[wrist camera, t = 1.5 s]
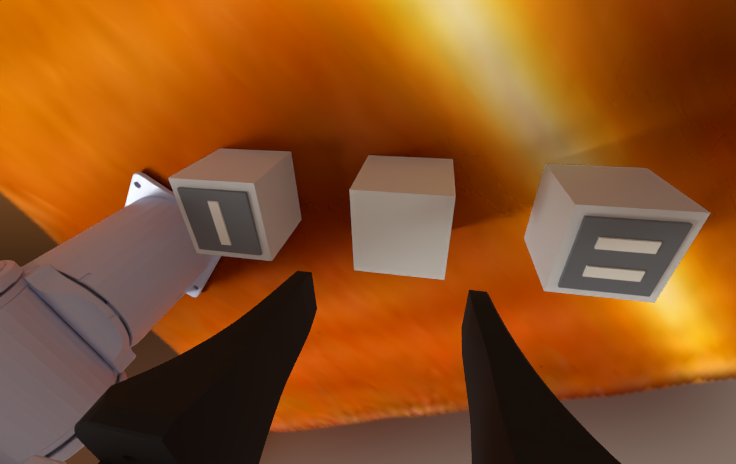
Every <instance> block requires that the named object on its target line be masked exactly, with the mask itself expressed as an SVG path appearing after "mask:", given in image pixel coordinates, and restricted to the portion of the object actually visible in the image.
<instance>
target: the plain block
mask: <svg viewBox="0 0 736 464" xmlns="http://www.w3.org/2000/svg"><path fill="white" fill-rule="evenodd" d="M349 193H350V210H351V226H352V243H353V260H354V270H357V271H366V272H376V273H385V274H394V275H404V276H413V277H422V278H432V279H441V280H444V278H445V271H446V264H447V257H448V249H449V242H450V235H451V228H452V220H453V213H454V206H455V198H456V193H455V180H454V167H453V159H443V158H420V157H398V156H375V155H368V157H367V159H366V161H365V162H364V164H363V166H362V168H361V170H360V171H359V173H358V175H357V177H356V179H355V180H354V182H353V184H352V186H351V188H350V189H349Z"/></svg>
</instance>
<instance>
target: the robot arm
mask: <svg viewBox="0 0 736 464" xmlns="http://www.w3.org/2000/svg"><path fill="white" fill-rule="evenodd" d="M220 258H221V256H219V255H209V254H200V253H197V252H196V250H195V247H194V245H193V242H192V239H191V237H190V234H189V232H188V229H187V226H186V224H185V221H184V219H183V216H182V213H181V211H180V208H179V206H178V203H177V200H176V198H175V195H174V193H173V192H172V191H170V190H169V189H167V188H166V187H164V186H163V185H161V184H160V183H158V182H157V181H155V180H154V179H152V178H150V177H149V176H147V175H146V174H144V173H142V172H137V173H135V174H133V176H132V180H131V184H130V188H129V192H128V196H127V200H126V204H125V207H124V208H123V209H121V210H119V211H118V212H116V213H114V214H112V215H111V216H109V217H107V218H105V219H104V220H102V221H100V222H99V223H97V224H95V225H93V226H92V227H90V228H88V229H87V230H85V231H83V232H81V233H80V234H78V235H76V236H74V237H73V238H71V239H69V240H68V241H66V242H64V243H62V244H61V245H59V246H57V247H56V248H54V249H52V250H51V251H49V252H47V253H45V254H44V255H42V256H40V257H38V258H37V259H35V260H33V261H32V262H30V263H28V264H26V265H25V266H23V267H19V266H18V265H17V264H16V262H14V261H10V260H4V261H0V464H67V463H65V462H63V461H65V460H66V459H68V458H69V457H71V456H72V455H74V454H75V453H76V452H77V451H79V450H80V449H81V448H82V447H84V446H86V447H87V448H88V449H89V450H90V451H91V452H92V453H93V454H94V455H95V456H96V457H97V458H98V459H99V460H100V462H99V463H98V464H259V461H260V458H261V455H262V451H263V448H264V445H265V441H266V438H267V435H268V432H269V429H270V426H271V423H272V420H273V417H274V414H275V411H276V409H277V406H278V403H279V400H280V397H281V394H282V392H283V389H284V387H285V384H286V382H287V380H288V378H289V375H290V373H291V371H292V369H293V367H294V365H295V362H296V360H297V358H298V356H299V354H300V352H301V350H302V347H303V345H304V343H305V341H306V339H307V336H308V334H309V332H310V329H311V326H312V323H313V320H314V317H315V313H316V310H317V306H316V299H315V293H314V286H313V279H312V273H311V272H303V271H297V272H296V273H294V274H293V275H292V276H291V277H290V278H288V279H287V280H286V281H285V282H284V283H283V284H281V285H280V286H279V287H278V288H277V289H276V290H275V291H273V292H272V293H271V294H270V295H269V296H267V297H266V298H265V299H264V300H263V301H261V302H260V303H259V304H258V305H257V306H255V307H254V308H253V309H251V310H250V311H249V312H247V313H246V314H245V315H244V316H242V317H241V318H240V319H238V320H237V321H235V322H234V323H233V324H231V325H230V326H228V327H227V328H225V329H224V330H222V331H221V332H219V333H217V334H216V335H214V336H213V337H211V338H209V339H208V340H206V341H204V342H202V343H201V344H199V345H197V346H195V347H194V348H192V349H190V350H188V351H187V352H185V353H183V354H181V355H179V356H177V357H175V358H173V359H171V360H169V361H167V362H165V363H163V364H161V365H159V366H157V367H154V368H152V369H150V370H148V371H145V372H143V373H141V374H138V375H136V376H133V377H131V378H129V379H127V376H126V373H125V372H124V371H123V370H124V369H125V368H126V367H127V366H128V365H129V364H130V363H131V362H132V361H133V360H134V358H135V357H136V355H135V354H134V353H133V351H132V350H131V347H132V346H134V345H135V344H137V343H138V342H139V341H140V340H141V339H142V338H143V337H144V336H145V335H146V334H147V333H148V332H149V331H150V330H151V329H152V328H153V327H154V326H155V324H156V323H157V322H158V321H159V320H160V319H161V318H162V317H163V316H164V315H165V314H166V313H167V312H168V311H169V310H170V309H171V308H172V307H173V306H174V305H175V303H176V302H177V301H178V300H179V299H180V298H181V297H182V296H183V295H184V294H185V293H187V294H189V295H190V296H192V297H198V296H199V294H200V293H201V291H202V289H203V288H204V286H205V284H206V282H207V281H208V279H209V277H210V275H211V274H212V272H213V270H214V268H215V267H216V265H217V263H218V261H219V259H220ZM462 357H463V365H464V373H465V381H466V389H467V397H468V404H469V412H470V423H471V447H472V464H621V463H620V462H619V461H617V459H615V458H614V457H613V456H612V455H611V454H610V453H609V452H608V451H607V450H606V449H605V448H604V447H603V446H602V445H601V444H600V443H599V442H598V441H597V440H596V439H595V438H594V437H592V435H591V434H590V433H589V432H588V431H587V430H586V429H585V428H584V427H583V426H582V425H581V424H580V423H579V422H578V421H577V420H576V418H575V417H573V415H572V414H571V413H570V412H569V411H568V410H567V409H566V408H565V407H564V406H563V404H562V403H561V402H560V401H559V400H558V399H557V397H556V396H555V395H554V394H553V393H552V392H551V390H550V389H549V388H548V387H547V385H546V384H545V383H544V382H543V380H542V379H541V378H540V377H539V375H538V374H537V373H536V371H535V370H534V369H533V367H532V366H531V365H530V363H529V362H528V360H527V359H526V358H525V356H524V355H523V353H522V352H521V350H520V349H519V347H518V346H517V344H516V343H515V341H514V339H513V338H512V336H511V335H510V333H509V331H508V330H507V328H506V326H505V325H504V323H503V321H502V320H501V318H500V316H499V314H498V312H497V310H496V309H495V307H494V305H493V303H492V301H491V299H490V296H489V294H488V293H487V292H483V291H474V290H469V293H468V298H467V303H466V308H465V313H464V319H463V324H462Z"/></svg>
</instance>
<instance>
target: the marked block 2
mask: <svg viewBox="0 0 736 464" xmlns="http://www.w3.org/2000/svg"><path fill="white" fill-rule="evenodd" d="M709 215H710V212H709V211H707V210H706V209H705V208H703V207H702V206H700V205H699V204H698V203H696V202H695V201H693V200H692V199H690V198H689V197H688V196H686V195H685V194H683V193H682V192H681V191H679V190H678V189H676V188H675V187H673V186H672V185H671V184H669V183H668V182H666V181H665V180H664V179H662V178H661V177H659V176H658V175H656V174H655V173H654V172H652V171H651V170H649V169H648V168H641V167H617V166H594V165H571V164H547V163H545V166H544V169H543V173H542V176H541V180H540V183H539V187H538V190H537V194H536V198H535V201H534V205H533V208H532V212H531V215H530V219H529V222H528V226H527V229H526V233H525V236H524V240H525V242H526V245H527V248H528V250H529V253H530V255H531V258H532V261H533V263H534V266H535V269H536V271H537V274H538V276H539V279H540V282H541V284H542V287H543V290H544V291H549V292H558V293H568V294H577V295H587V296H596V297H606V298H615V299H625V300H634V301H644V302H653V303H655V301H656V300H657V298H658V296H659V295H660V293H661V292H662V290H663V288H664V287H665V285H666V284H667V282H668V280H669V279H670V277H671V276H672V274H673V272H674V271H675V269H676V268H677V266H678V264H679V263H680V261H681V260H682V258H683V256H684V255H685V253H686V252H687V250H688V248H689V247H690V245H691V244H692V242H693V240H694V239H695V237H696V236H697V234H698V232H699V231H700V229H701V228H702V226H703V224H704V223H705V221H706V220H707V218H708V216H709Z"/></svg>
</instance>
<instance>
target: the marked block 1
mask: <svg viewBox="0 0 736 464" xmlns="http://www.w3.org/2000/svg"><path fill="white" fill-rule="evenodd" d="M168 179H169V182H170V185H171V187H172V190H173V193H174V195H175V198H176V200H177V203H178V206H179V208H180V211H181V213H182V216H183V219H184V221H185V224H186V226H187V229H188V232H189V234H190V237H191V239H192V242H193V245H194V247H195V250H196V252H197V253H200V254H209V255H219V256H228V257H238V258H247V259H256V260H266V261H272V260H273V259H274V257H275V256H276V255H277V253H278V252H279V250H280V249H281V248H282V246H283V245H284V243H285V242H286V241H287V239H288V238H289V236H290V235H291V234H292V232H293V231H294V229H295V228H296V227H297V225H298V224H299V223H300V221H301V220H302V218H301V212H300V205H299V199H298V192H297V186H296V180H295V173H294V167H293V160H292V154H291V151H268V150H245V149H222V148H220V149H218V150H216V151H215V152H213V153H211V154H209V155H208V156H206V157H204V158H202V159H200V160H199V161H197V162H195V163H193V164H192V165H190V166H188V167H186V168H185V169H183V170H181V171H179V172H178V173H176V174H174V175H172V176H170V177H169V178H168Z"/></svg>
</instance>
